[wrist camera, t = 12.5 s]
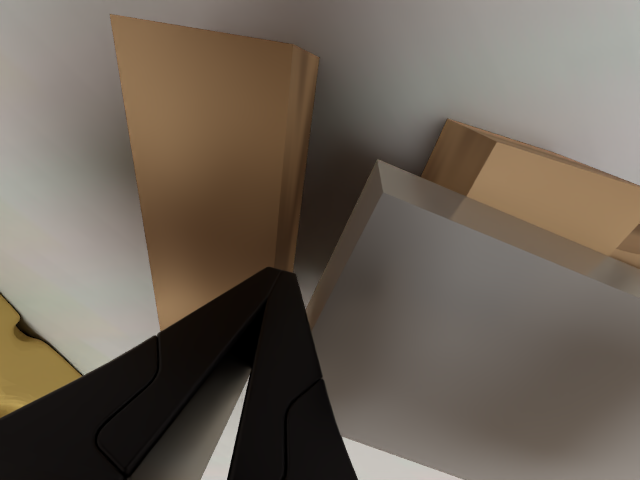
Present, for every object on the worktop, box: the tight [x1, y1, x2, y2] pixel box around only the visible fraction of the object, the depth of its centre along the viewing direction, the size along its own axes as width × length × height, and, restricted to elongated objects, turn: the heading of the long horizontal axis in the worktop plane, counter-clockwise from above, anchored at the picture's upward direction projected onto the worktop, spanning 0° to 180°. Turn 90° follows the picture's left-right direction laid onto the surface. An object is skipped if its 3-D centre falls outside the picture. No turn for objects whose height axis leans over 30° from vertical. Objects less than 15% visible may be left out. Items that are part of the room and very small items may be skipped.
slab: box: [306, 159, 640, 480], centre depth 8 cm, size 7×10×2 cm
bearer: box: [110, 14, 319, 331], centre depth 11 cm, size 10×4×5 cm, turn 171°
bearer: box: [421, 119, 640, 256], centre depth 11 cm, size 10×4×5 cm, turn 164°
